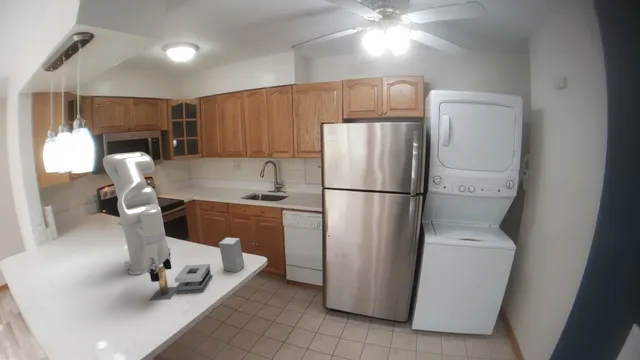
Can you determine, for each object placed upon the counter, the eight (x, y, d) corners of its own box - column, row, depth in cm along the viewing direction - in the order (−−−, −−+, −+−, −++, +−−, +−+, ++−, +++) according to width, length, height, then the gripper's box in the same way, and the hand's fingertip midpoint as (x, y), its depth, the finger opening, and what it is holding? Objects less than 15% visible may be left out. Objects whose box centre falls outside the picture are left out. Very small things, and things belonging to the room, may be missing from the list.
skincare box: (244, 266, 138) (241, 237, 135) (236, 273, 132) (232, 243, 128) (230, 264, 141) (227, 236, 138) (221, 271, 134) (218, 241, 131)
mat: (148, 301, 113) (148, 300, 113) (159, 288, 122) (159, 287, 122) (170, 300, 113) (170, 299, 113) (180, 287, 122) (180, 286, 122)
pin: (158, 296, 116) (154, 270, 113) (162, 291, 119) (158, 266, 117) (166, 295, 116) (162, 270, 113) (170, 290, 119) (166, 266, 117)
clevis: (175, 294, 117) (173, 279, 115) (187, 279, 129) (185, 264, 127) (203, 292, 117) (201, 277, 116) (212, 277, 129) (211, 263, 127)
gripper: (157, 230, 120) (163, 265, 123) (132, 247, 103) (140, 287, 106) (174, 229, 121) (180, 264, 124) (152, 245, 104) (160, 285, 107)
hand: (162, 274), depth 115 cm, fingers open, 9 cm apart
